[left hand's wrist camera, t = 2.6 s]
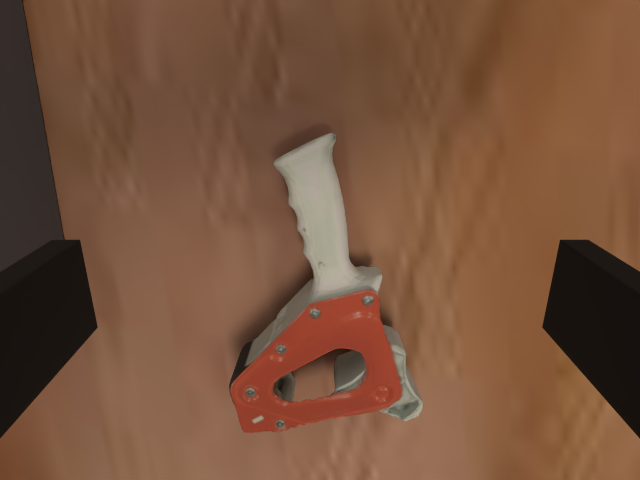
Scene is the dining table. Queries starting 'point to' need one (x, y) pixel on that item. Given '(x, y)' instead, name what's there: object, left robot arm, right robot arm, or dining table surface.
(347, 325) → the tape dispenser
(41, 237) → the bar
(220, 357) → the dining table surface
